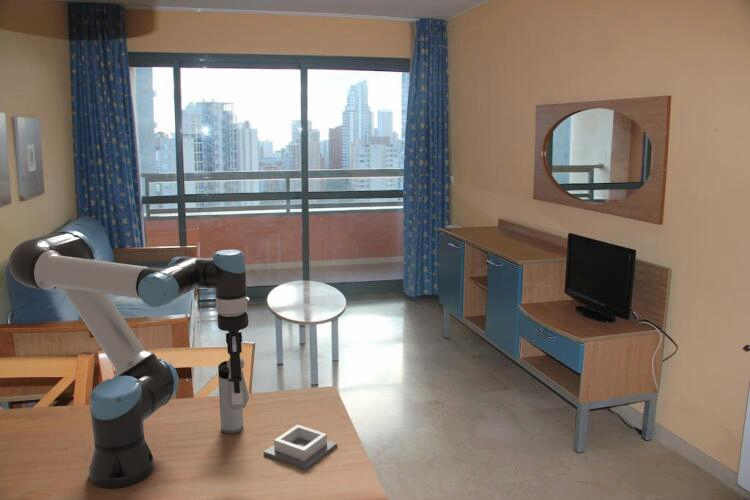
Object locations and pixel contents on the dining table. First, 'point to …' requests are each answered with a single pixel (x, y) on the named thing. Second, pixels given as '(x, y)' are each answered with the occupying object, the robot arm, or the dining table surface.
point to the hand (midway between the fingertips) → (237, 397)
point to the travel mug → (228, 416)
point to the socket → (300, 447)
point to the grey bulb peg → (244, 388)
